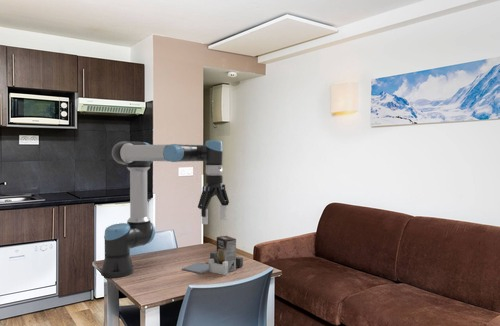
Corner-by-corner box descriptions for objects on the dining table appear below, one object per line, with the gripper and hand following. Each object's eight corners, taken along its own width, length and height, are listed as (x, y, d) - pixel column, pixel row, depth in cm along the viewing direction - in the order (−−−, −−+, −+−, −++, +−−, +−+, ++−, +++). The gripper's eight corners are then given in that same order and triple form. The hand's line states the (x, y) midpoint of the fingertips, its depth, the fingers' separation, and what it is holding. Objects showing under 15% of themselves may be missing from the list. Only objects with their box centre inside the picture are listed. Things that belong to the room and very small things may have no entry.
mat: (181, 269, 189) (181, 268, 189) (198, 263, 200) (198, 262, 200) (202, 274, 182) (202, 272, 182) (217, 267, 193) (217, 265, 193)
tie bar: (210, 261, 202) (210, 252, 202) (213, 260, 204) (213, 251, 204) (240, 267, 192) (240, 258, 192) (242, 266, 194) (242, 256, 194)
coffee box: (216, 268, 192) (216, 236, 191) (226, 265, 196) (226, 235, 195) (225, 272, 185) (225, 240, 184) (236, 270, 188) (236, 238, 188)
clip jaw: (208, 271, 186) (208, 259, 186) (211, 270, 188) (211, 258, 188) (225, 275, 181) (225, 262, 181) (228, 273, 183) (228, 261, 183)
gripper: (203, 176, 156) (203, 227, 156) (236, 173, 177) (236, 218, 178) (189, 175, 160) (189, 225, 160) (223, 173, 181) (223, 216, 182)
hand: (214, 221), depth 169 cm, fingers open, 13 cm apart
